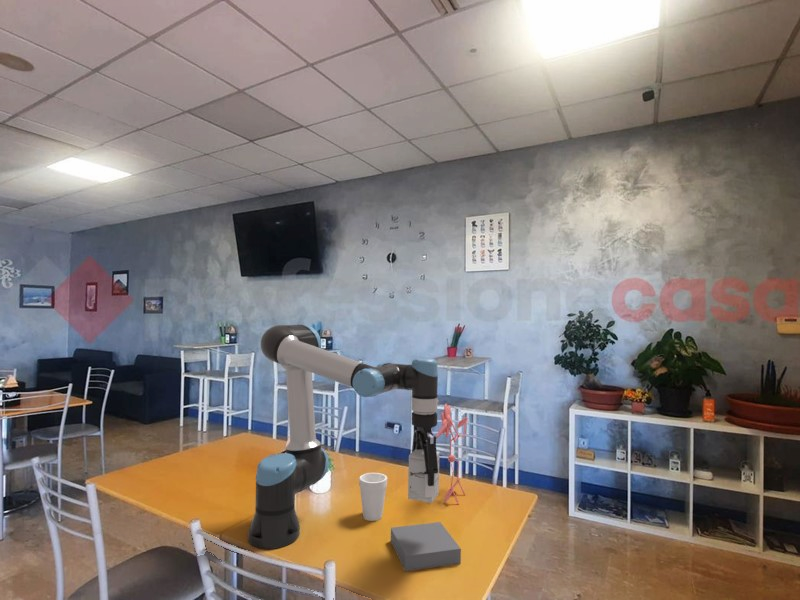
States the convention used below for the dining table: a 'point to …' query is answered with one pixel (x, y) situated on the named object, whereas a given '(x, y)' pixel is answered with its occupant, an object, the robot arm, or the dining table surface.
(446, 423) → the pink stick sculpture
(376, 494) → the foam cup
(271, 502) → the robot arm
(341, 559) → the dining table surface
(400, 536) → the block
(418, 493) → the supplement box
